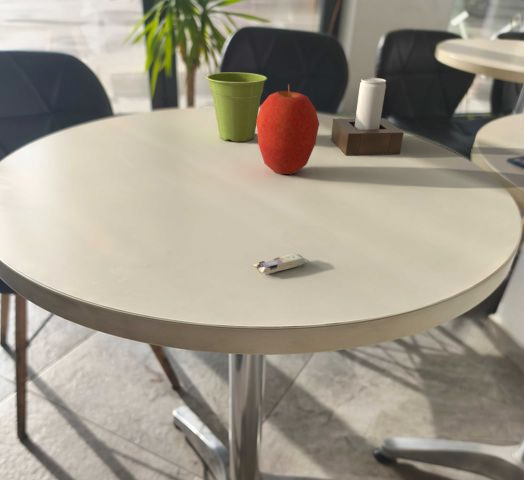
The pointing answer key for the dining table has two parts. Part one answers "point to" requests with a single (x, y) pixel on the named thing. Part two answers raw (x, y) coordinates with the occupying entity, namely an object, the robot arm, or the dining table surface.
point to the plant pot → (236, 103)
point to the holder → (366, 138)
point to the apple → (287, 131)
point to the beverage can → (370, 103)
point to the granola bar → (280, 263)
